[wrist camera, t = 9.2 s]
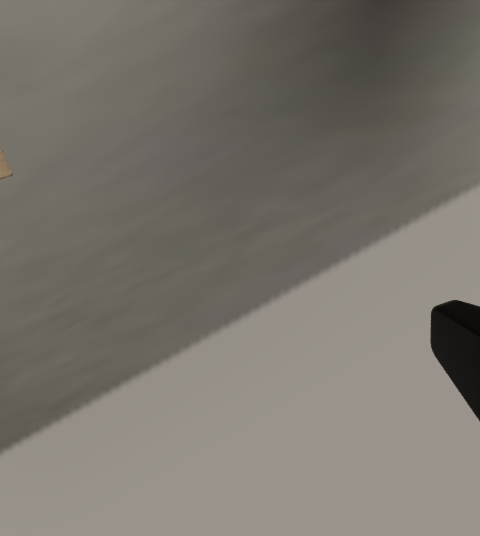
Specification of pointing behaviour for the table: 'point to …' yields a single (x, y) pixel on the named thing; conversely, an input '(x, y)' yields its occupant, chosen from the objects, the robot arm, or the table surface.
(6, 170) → the oak slab
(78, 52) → the table surface
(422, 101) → the table surface
